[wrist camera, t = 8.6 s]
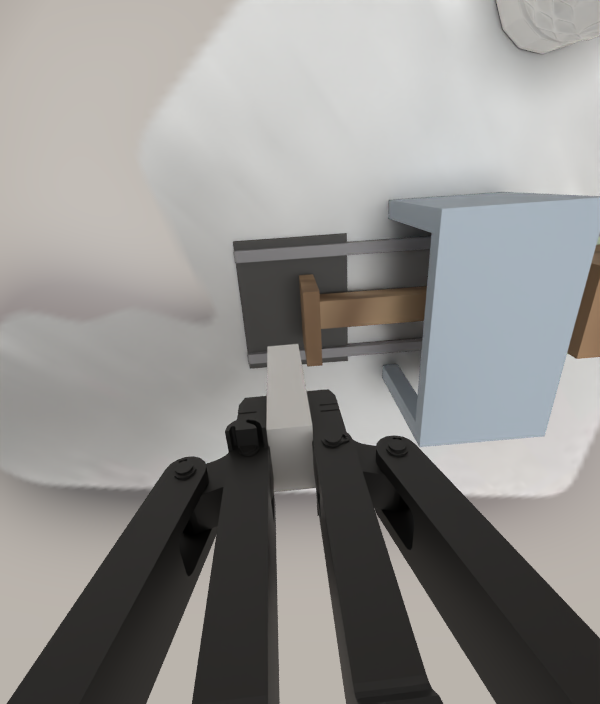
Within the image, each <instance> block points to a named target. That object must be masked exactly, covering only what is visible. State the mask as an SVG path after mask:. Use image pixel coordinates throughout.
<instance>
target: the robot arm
mask: <svg viewBox="0 0 600 704" xmlns="http://www.w3.org/2000/svg"><path fill="white" fill-rule="evenodd" d="M225 434H226V439H227V445H228V450H229V453H228V454H227V455H226V456H224V457H222V458H221V459H218V460H216V461H213V462H210V463H207V464H205V461H203V460H202V459H201V458H198V457H185V458H182V459H179V460H177V461H175V462H173V463H172V464H170V465H169V466H168V468H167V469H166V470H165V471H164V473H163V474H162V476H161V477H160V479H159V480H158V481H157V483H156V484H155V486H154V487H153V489H152V490H151V492H150V493H149V495H148V496H147V498H146V499H145V501H144V502H143V504H142V505H141V507H140V508H139V509H138V511H137V512H136V514H135V516H134V517H133V518H132V520H131V521H130V523H129V524H128V526H127V528H126V529H125V530H124V532H123V533H122V535H121V536H120V537H119V539H118V540H117V542H116V543H115V545H114V547H113V548H112V549H111V551H110V552H109V554H108V555H107V557H106V558H105V560H104V561H103V563H102V564H101V566H100V567H99V568H98V570H97V571H96V573H95V574H94V576H93V577H92V579H91V580H90V582H89V583H88V585H87V586H86V588H85V589H84V591H83V592H82V594H81V595H80V596H79V598H78V599H77V601H76V602H75V604H74V605H73V607H72V608H71V610H70V611H69V613H68V614H67V616H66V617H65V619H64V620H63V622H62V623H61V624H60V626H59V627H58V629H57V630H56V632H55V633H54V635H53V636H52V638H51V639H50V641H49V642H48V644H47V645H46V647H45V648H44V650H43V651H42V653H41V654H40V655H39V657H38V658H37V660H36V661H35V663H34V664H33V666H32V667H31V669H30V670H29V672H28V673H27V675H26V676H25V678H24V679H23V681H22V682H21V683H20V685H19V686H18V688H17V689H16V691H15V692H14V694H13V695H12V697H11V698H10V700H9V701H8V703H7V704H146V702H147V700H148V698H149V695H150V693H151V690H152V688H153V686H154V683H155V681H156V678H157V676H158V674H159V671H160V669H161V666H162V664H163V661H164V659H165V657H166V654H167V652H168V649H169V647H170V645H171V642H172V640H173V637H174V635H175V633H176V630H177V628H178V626H179V623H180V621H181V618H182V616H183V614H184V611H185V609H186V606H187V604H188V602H189V599H190V597H191V594H192V592H193V589H194V587H195V585H196V582H197V580H198V577H199V575H200V573H201V570H202V568H203V565H204V563H205V561H206V558H207V556H208V553H209V551H210V549H211V546H212V544H213V541H214V539H215V537H216V542H215V549H214V556H213V563H212V570H211V576H210V583H209V591H208V597H207V604H206V611H205V618H204V624H203V631H202V638H201V645H200V652H199V658H198V665H197V672H196V679H195V686H194V693H193V700H192V704H279V659H278V615H277V564H276V522H275V521H276V520H275V519H276V518H275V499H274V492H280V491H289V490H299V489H309V488H316V494H317V510H318V515H319V518H320V525H321V532H322V539H323V546H324V553H325V559H326V567H327V573H328V581H329V588H330V595H331V601H332V608H333V615H334V622H335V629H336V636H337V643H338V649H339V657H340V664H341V671H342V678H343V685H344V692H345V699H346V704H443V702H442V701H441V698H440V697H439V695H438V694H437V693H436V692H435V691H434V690H433V689H432V687H431V685H430V683H429V681H428V678H427V675H426V672H425V669H424V666H423V662H422V659H421V656H420V653H419V650H418V647H417V643H416V641H415V637H414V634H413V631H412V627H411V624H410V621H409V618H408V615H407V611H406V608H405V605H404V602H403V599H402V596H401V592H400V589H399V586H398V583H397V580H396V577H395V573H394V570H393V567H392V564H391V561H390V558H389V554H388V551H387V548H386V545H385V541H384V538H383V536H382V532H381V529H380V526H379V523H378V519H377V516H376V513H377V515H378V517H379V518H380V519H381V521H382V523H383V525H384V526H385V528H386V529H387V531H388V532H389V534H390V536H391V537H392V539H393V540H394V542H395V544H396V545H397V546H398V548H399V550H400V551H401V553H402V555H403V556H404V558H405V559H406V561H407V563H408V564H409V566H410V567H411V569H412V570H413V572H414V574H415V575H416V577H417V578H418V580H419V582H420V583H421V585H422V586H423V588H424V589H425V591H426V593H427V594H428V596H429V597H430V599H431V600H432V602H433V604H434V605H435V607H436V608H437V610H438V612H439V613H440V615H441V616H442V618H443V620H444V621H445V623H446V624H447V626H448V628H449V629H450V631H451V632H452V634H453V635H454V637H455V639H456V640H457V642H458V643H459V645H460V647H461V648H462V650H463V651H464V653H465V654H466V656H467V658H468V659H469V661H470V662H471V664H472V665H473V667H474V669H475V670H476V672H477V673H478V675H479V677H480V678H481V680H482V681H483V683H484V684H485V686H486V688H487V689H488V691H489V692H490V694H491V696H492V697H493V699H494V700H495V702H496V704H600V638H599V637H598V636H597V635H596V634H595V633H594V632H593V631H592V630H591V629H590V627H589V626H588V625H587V624H586V623H585V622H584V621H583V620H582V619H581V618H580V617H579V616H578V615H577V614H576V613H575V612H574V611H573V610H572V609H571V608H570V606H569V605H568V604H567V603H566V602H565V601H564V600H563V599H562V598H561V597H560V596H559V595H558V594H557V593H556V592H555V591H554V590H553V589H552V587H550V585H549V584H548V583H547V582H546V581H545V580H544V579H543V578H542V577H541V576H540V575H539V574H538V573H537V572H536V571H535V570H534V569H533V568H532V566H531V565H529V563H528V562H527V561H526V560H525V559H524V558H523V557H522V556H521V555H520V554H519V553H518V552H517V551H516V550H515V549H514V548H513V547H512V545H510V543H509V542H508V541H507V540H506V539H505V538H504V537H503V536H502V535H501V534H500V533H499V532H498V531H497V530H496V529H495V528H494V526H493V525H492V524H491V523H490V522H489V521H488V520H487V519H486V518H485V517H484V516H483V515H482V514H481V513H480V512H479V511H478V510H477V509H476V508H475V507H474V506H473V504H472V503H471V502H470V501H469V500H468V499H467V498H466V497H465V496H464V495H463V494H462V493H461V492H460V491H459V490H458V489H457V488H456V487H455V485H454V484H453V483H452V482H451V481H450V480H449V479H448V478H447V477H446V476H445V475H444V474H443V473H442V472H441V471H440V470H439V469H438V468H437V467H436V465H435V464H434V463H433V462H432V461H431V460H430V459H429V458H428V457H427V456H426V455H425V454H424V453H423V452H422V451H421V450H420V449H419V448H418V447H417V445H416V444H415V443H413V442H412V441H411V440H409V439H407V438H404V437H401V436H387V437H384V438H382V439H380V440H379V441H378V443H377V446H372V445H366V444H361V443H358V442H356V441H354V440H353V439H352V438H351V436H350V435H349V434H348V433H347V432H346V429H345V426H344V423H343V419H342V416H341V413H340V410H339V406H338V403H337V400H336V396H335V395H334V394H333V393H332V392H331V391H330V390H329V389H327V390H317V391H306V386H305V380H304V374H303V369H302V363H301V357H300V351H299V346H298V344H291V345H280V346H268V347H267V396H261V397H250V398H245V399H244V400H243V401H242V402H241V404H240V405H239V410H238V417H237V420H236V421H234V422H232V423H231V424H230V425H228V426H227V428H226V430H225ZM374 508H375V510H374ZM375 511H376V513H375ZM216 534H217V535H216Z"/></svg>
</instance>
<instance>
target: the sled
mask: <svg viewBox="0 0 600 704" xmlns="http://www.w3.org/2000/svg"><path fill="white" fill-rule="evenodd" d="M299 284H300V300H301V316H302V331H303V343H304V349H305V355H306V361H307V366H320V365H322V342H321V329H327V328H339V327H352V326H365V325H378V324H391V323H403V322H416V321H424V316H425V305H426V293H427V286H423V287H409V288H396V289H383V290H370V291H357V292H344V293H330V294H320V293H319V289H318V286H317V284H316V281H315V278H314V276H313V274H311V275H299ZM567 353H568V354H570V355H571V356H573V357H575V358H576V359H580V358H592V357H600V245H596V248H595V252H594V255H593V259H592V263H591V266H590V270H589V274H588V277H587V281H586V285H585V288H584V292H583V296H582V300H581V303H580V307H579V311H578V314H577V318H576V322H575V325H574V329H573V333H572V336H571V340H570V344H569V348H568V351H567Z"/></svg>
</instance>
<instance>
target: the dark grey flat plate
mask: <svg viewBox="0 0 600 704" xmlns="http://www.w3.org/2000/svg"><path fill="white" fill-rule="evenodd" d="M334 243H347V234H346V233H345V234H331V235H318V236H304V237H290V238H276V239H262V240H248V241H234V242H233V245H234V251H237V250H251V249H265V248H279V247H293V246H306V245H320V244H334ZM236 268H237V275H238V282H239V290H240V297H241V305H242V312H243V320H244V327H245V334H246V342H247V349H248V353H254V352H267V347H268V346H280V345H291V344H298V346H299V349H304V343H303V331H302V316H301V300H300V284H299V275H311V274H313V276H314V278H315V281H316V284H317V286H318V289H319V293H320V294H330V293H344V292H347V255H341V256H327V257H314V258H300V259H286V260H273V261H259V262H246V263H236ZM321 342H322V347H330V346H342V345H348V344H347V327H339V328H327V329H321ZM337 361H348V356H344V357H332V358H322V363H325V362H337ZM301 363H302V364H307V361H306V360H301ZM263 367H267V363H257V364H250V368H263Z"/></svg>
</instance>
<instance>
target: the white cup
mask: <svg viewBox="0 0 600 704" xmlns="http://www.w3.org/2000/svg"><path fill="white" fill-rule="evenodd" d="M496 3H497V7H498V11H499V15H500V20H501V24H502V28H503V30H504V31H505V32H506V34H507V35H508V36H509V37H510V38H511V39H512V40H513V42H514V43H515V44H516V45H517V46H518V47H519V48H520V49H524V50H528V51H532V52H536V53H540V54H544V53H547V52H550V51H553V50H556V49H559V48H562V47H565V46H568V45H571V44H574V43H576V42H578V41H582V40H590V39H593V38H596V37H598V36H600V0H496Z"/></svg>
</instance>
